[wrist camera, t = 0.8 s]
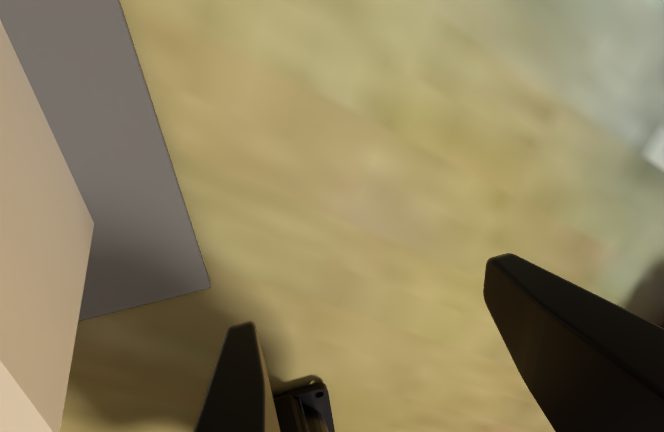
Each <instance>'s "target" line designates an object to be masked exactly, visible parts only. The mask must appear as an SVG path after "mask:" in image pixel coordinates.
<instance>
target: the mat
mask: <svg viewBox="0 0 664 432" xmlns="http://www.w3.org/2000/svg"><path fill="white" fill-rule="evenodd" d="M0 20H1V22H2V24H3V27H4V29H5V31H6V33H7V35H8V37H9V40H10V42H11V44H12V46H13V48H14V50H15V53H16V55H17V57H18V59H19V61H20V63H21V66H22V68H23V70H24V72H25V74H26V76H27V79H28V81H29V83H30V85H31V87H32V89H33V92H34V94H35V96H36V98H37V100H38V103H39V105H40V107H41V109H42V111H43V113H44V116H45V118H46V120H47V122H48V124H49V126H50V129H51V131H52V133H53V135H54V137H55V139H56V142H57V144H58V146H59V148H60V150H61V152H62V155H63V157H64V159H65V161H66V163H67V165H68V168H69V170H70V172H71V174H72V176H73V178H74V181H75V183H76V185H77V187H78V189H79V192H80V194H81V196H82V198H83V200H84V202H85V205H86V207H87V209H88V211H89V213H90V215H91V218H92V220H93V222H94V228H93V234H92V240H91V246H90V252H89V258H88V264H87V271H86V277H85V283H84V289H83V295H82V301H81V307H80V313H79V319H78V321H81V320H85V319H89V318H93V317H97V316H101V315H105V314H109V313H113V312H117V311H121V310H125V309H129V308H133V307H137V306H141V305H145V304H149V303H153V302H157V301H161V300H165V299H169V298H173V297H177V296H181V295H185V294H189V293H193V292H197V291H201V290H205V289H209V288H211V285H210V280H209V277H208V274H207V271H206V268H205V265H204V261H203V258H202V255H201V252H200V249H199V246H198V243H197V240H196V237H195V233H194V230H193V227H192V224H191V221H190V218H189V215H188V212H187V209H186V206H185V202H184V199H183V196H182V193H181V190H180V187H179V184H178V181H177V178H176V174H175V171H174V168H173V165H172V162H171V159H170V156H169V153H168V150H167V147H166V143H165V140H164V137H163V134H162V131H161V128H160V125H159V122H158V119H157V115H156V112H155V109H154V106H153V103H152V100H151V97H150V94H149V91H148V88H147V84H146V81H145V78H144V75H143V72H142V69H141V66H140V63H139V60H138V56H137V53H136V50H135V47H134V44H133V41H132V38H131V35H130V32H129V29H128V25H127V22H126V19H125V16H124V13H123V10H122V7H121V4H120V1H119V0H0Z"/></svg>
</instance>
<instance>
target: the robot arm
mask: <svg viewBox="0 0 664 432" xmlns="http://www.w3.org/2000/svg"><path fill="white" fill-rule="evenodd" d="M483 294H484V300H485V303H486V305H487V307H488V309H489V311H490V313H491V316H492V318H493V320H494V322H495V324H496V326H497V328H498V330H499V332H500V334H501V336H502V338H503V340H504V342H505V344H506V346H507V348H508V350H509V352H510V354H511V357H512V359H513V361H514V363H515V365H516V367H517V369H518V371H519V373H520V374H521V376H522V378H523V380H524V382H525V383H526V385H527V387H528V388H529V390H530V392H531V393H532V395H533V397H534V398H535V400H536V401H537V403H538V404H539V406H540V408H541V409H542V411H543V412H544V414H545V416H546V417H547V419H548V420H549V422H550V423H551V425H552V427H553V428H554V430H555V431H556V432H664V328H662V327H660V326H658V325H656V324H654V323H652V322H650V321H648V320H646V319H644V318H642V317H640V316H638V315H636V314H634V313H632V312H630V311H628V310H626V309H624V308H622V307H620V306H618V305H616V304H614V303H612V302H610V301H608V300H605V299H603V298H601V297H599V296H597V295H595V294H593V293H591V292H589V291H587V290H585V289H583V288H581V287H579V286H577V285H575V284H573V283H571V282H569V281H567V280H565V279H563V278H561V277H559V276H557V275H555V274H553V273H551V272H549V271H547V270H545V269H543V268H541V267H539V266H537V265H535V264H533V263H531V262H529V261H527V260H525V259H522V258H520V257H518V256H516V255H514V254H511V253H507V254H503V255H499V256H495V257H492V258H490V259H489V260H488V261H487V263H486V271H485V280H484V290H483ZM193 432H335V430H334V424H333V418H332V412H331V406H330V400H329V394H328V390H327V387H326V385H325V384H324V383H316V384H313V385H309V386H306V387H302V388H299V389H295V390H292V391H288V392H285V393H281V394H278V395H274V396H272V392H271V387H270V382H269V378H268V373H267V369H266V364H265V360H264V356H263V352H262V348H261V345H260V341H259V337H258V334H257V330H256V326H255V324H254V323H253V322H251V321H249V322H245V323H241V324H238V325H234V326H231V327H230V328H229V329H228V331H227V333H226V336H225V339H224V342H223V345H222V348H221V351H220V354H219V357H218V360H217V363H216V366H215V369H214V372H213V375H212V378H211V381H210V384H209V387H208V390H207V393H206V396H205V399H204V402H203V405H202V408H201V411H200V414H199V417H198V420H197V423H196V425H195V428H194V431H193Z"/></svg>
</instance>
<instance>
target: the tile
mask: <svg viewBox="0 0 664 432" xmlns="http://www.w3.org/2000/svg"><path fill="white" fill-rule="evenodd" d="M93 228H94V222H93V220H92V218H91V215H90V213H89V211H88V209H87V207H86V205H85V202H84V200H83V198H82V196H81V194H80V192H79V189H78V187H77V185H76V183H75V181H74V178H73V176H72V174H71V172H70V170H69V168H68V165H67V163H66V161H65V159H64V157H63V155H62V152H61V150H60V148H59V146H58V144H57V142H56V139H55V137H54V135H53V133H52V131H51V129H50V126H49V124H48V122H47V120H46V118H45V116H44V113H43V111H42V109H41V107H40V105H39V103H38V100H37V98H36V96H35V94H34V92H33V89H32V87H31V85H30V83H29V81H28V79H27V76H26V74H25V72H24V70H23V68H22V66H21V63H20V61H19V59H18V57H17V55H16V53H15V50H14V48H13V46H12V44H11V42H10V40H9V37H8V35H7V33H6V31H5V29H4V27H3V24H2V22H1V20H0V432H60V428H61V422H62V416H63V410H64V404H65V398H66V392H67V386H68V380H69V374H70V368H71V362H72V356H73V350H74V343H75V337H76V331H77V325H78V319H79V313H80V307H81V301H82V295H83V289H84V283H85V277H86V271H87V264H88V258H89V252H90V246H91V240H92V234H93Z"/></svg>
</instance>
